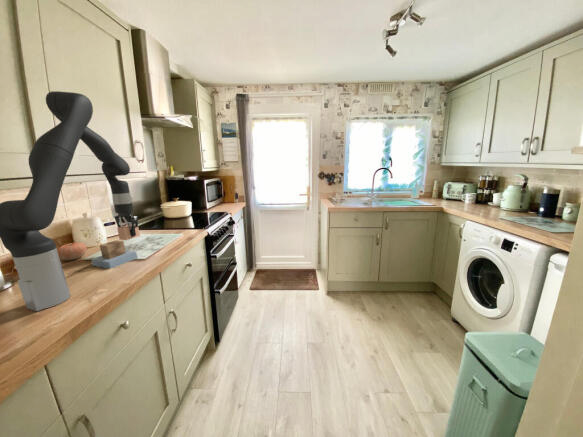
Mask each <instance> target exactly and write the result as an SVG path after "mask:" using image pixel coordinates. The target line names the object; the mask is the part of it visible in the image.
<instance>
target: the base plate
mask: <svg viewBox="0 0 583 437" xmlns="http://www.w3.org/2000/svg"><path fill="white" fill-rule="evenodd" d="M125 251H126V253H125V254H123V255H120V256H117V257H114V258H112V259H106V258H103V257H102V255H100V256H97V257H94V258H91V263H92V266H94V267H97V268H98V267H99V268H105V269H109V270H110V269H113V268H115V267H118V266H121V265H124V264H126V263H129V262H130V261H134V260H135V259H138V254H137V251H131V250H125Z"/></svg>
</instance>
